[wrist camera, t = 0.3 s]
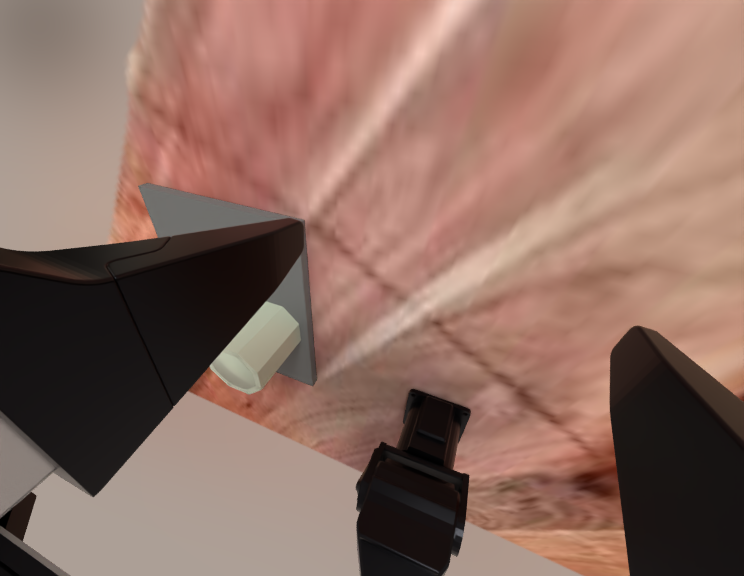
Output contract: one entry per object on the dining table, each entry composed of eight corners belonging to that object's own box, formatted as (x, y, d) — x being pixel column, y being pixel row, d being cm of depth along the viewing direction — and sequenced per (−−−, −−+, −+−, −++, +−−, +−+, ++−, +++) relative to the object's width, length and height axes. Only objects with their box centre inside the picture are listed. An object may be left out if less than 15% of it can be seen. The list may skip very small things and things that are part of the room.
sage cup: (302, 351, 37) (264, 400, 32) (258, 335, 38) (214, 380, 33) (297, 311, 33) (254, 360, 28) (249, 295, 35) (199, 338, 30)
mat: (316, 380, 41) (312, 386, 40) (204, 337, 46) (198, 342, 45) (304, 220, 28) (298, 224, 27) (147, 182, 32) (138, 185, 32)
